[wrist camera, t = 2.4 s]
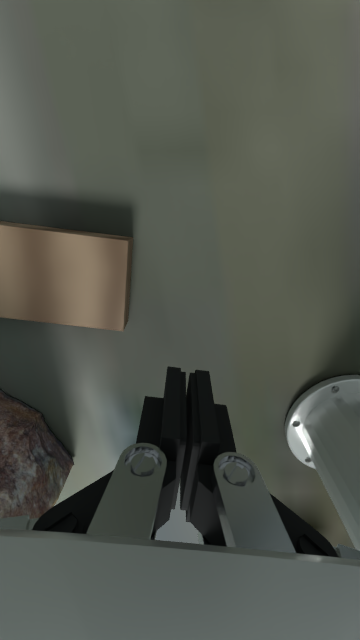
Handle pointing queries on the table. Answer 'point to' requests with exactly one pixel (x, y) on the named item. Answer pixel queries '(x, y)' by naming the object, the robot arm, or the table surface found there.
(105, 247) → the panel
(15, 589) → the robot arm
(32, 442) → the stone
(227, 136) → the table surface
